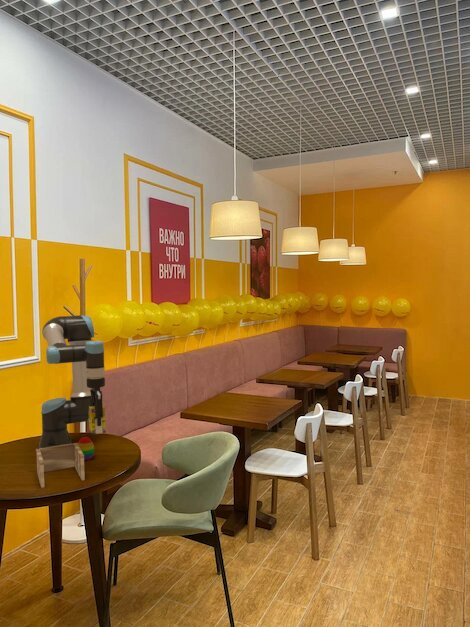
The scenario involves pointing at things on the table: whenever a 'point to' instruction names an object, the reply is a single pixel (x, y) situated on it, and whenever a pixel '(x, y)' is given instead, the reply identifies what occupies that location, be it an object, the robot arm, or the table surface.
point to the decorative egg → (86, 447)
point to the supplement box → (92, 420)
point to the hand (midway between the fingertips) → (97, 431)
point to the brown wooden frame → (59, 460)
